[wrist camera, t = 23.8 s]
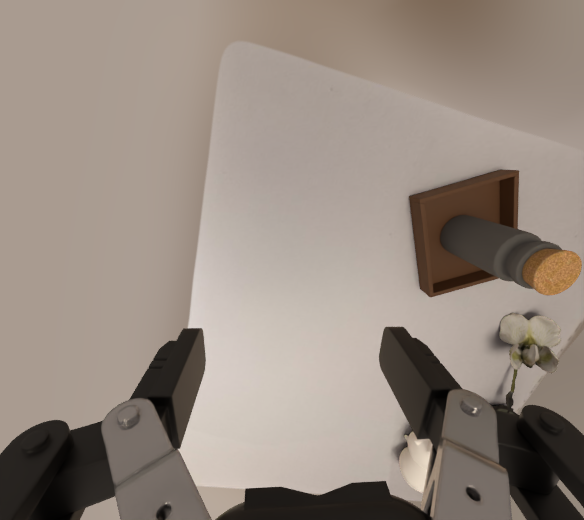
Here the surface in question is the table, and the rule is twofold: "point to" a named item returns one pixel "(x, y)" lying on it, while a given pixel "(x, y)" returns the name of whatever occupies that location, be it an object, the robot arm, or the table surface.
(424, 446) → the cat figurine
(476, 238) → the bottle
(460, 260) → the tray
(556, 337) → the artificial flower
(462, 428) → the robot arm
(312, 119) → the table surface
